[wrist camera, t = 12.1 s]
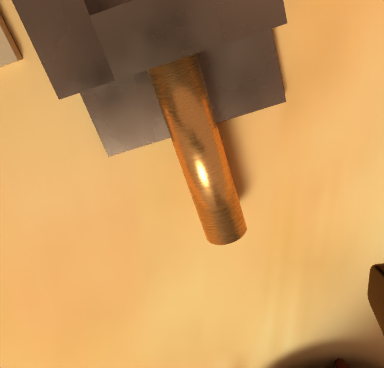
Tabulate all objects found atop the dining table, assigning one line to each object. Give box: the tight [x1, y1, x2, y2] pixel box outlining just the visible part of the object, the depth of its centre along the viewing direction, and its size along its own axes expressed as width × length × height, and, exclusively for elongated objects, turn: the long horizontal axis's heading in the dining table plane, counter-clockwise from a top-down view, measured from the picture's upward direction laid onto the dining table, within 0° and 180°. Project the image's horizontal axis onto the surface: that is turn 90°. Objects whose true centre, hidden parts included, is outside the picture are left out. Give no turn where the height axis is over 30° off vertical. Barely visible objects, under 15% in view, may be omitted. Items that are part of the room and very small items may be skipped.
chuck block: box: [12, 0, 287, 245], centre depth 17 cm, size 20×10×4 cm, turn 17°
